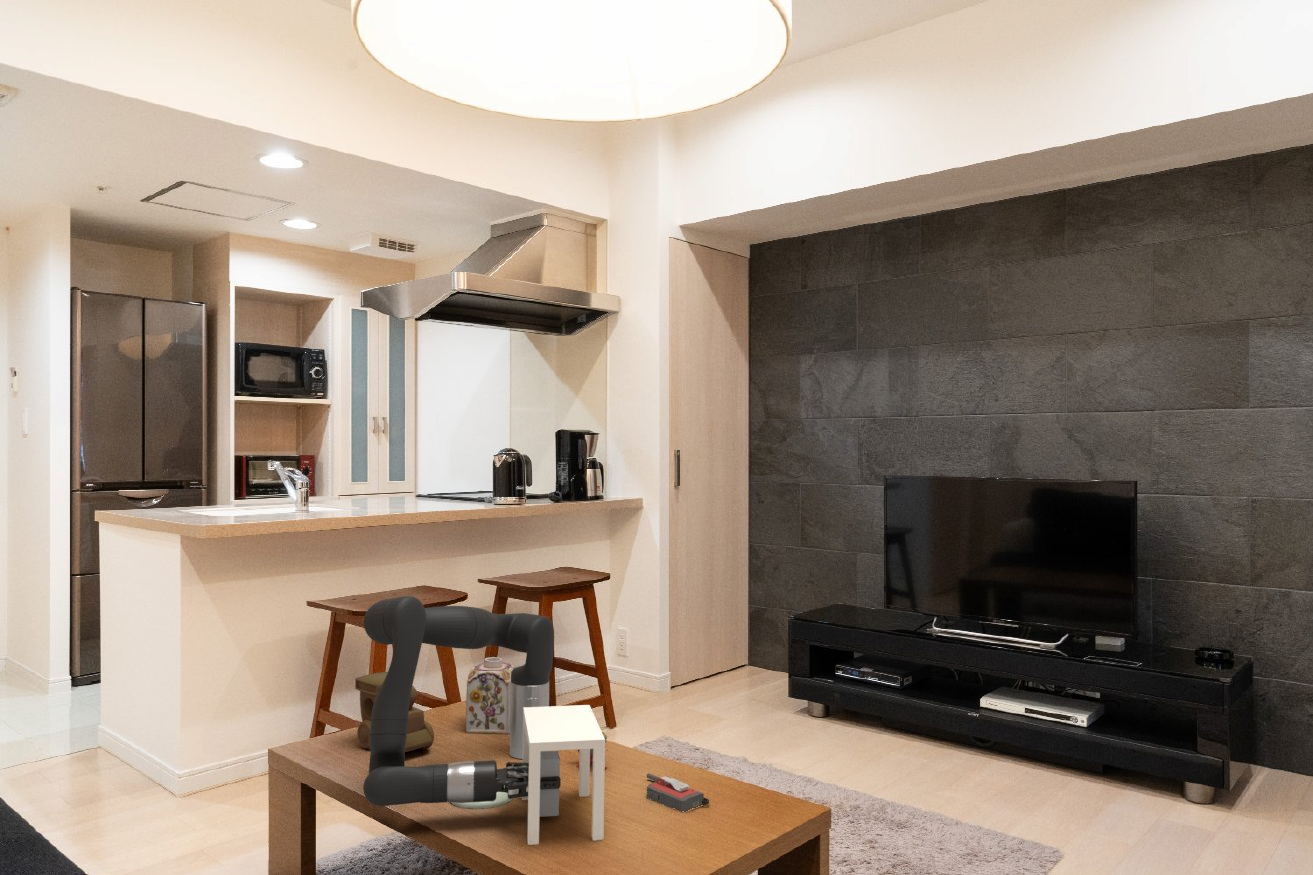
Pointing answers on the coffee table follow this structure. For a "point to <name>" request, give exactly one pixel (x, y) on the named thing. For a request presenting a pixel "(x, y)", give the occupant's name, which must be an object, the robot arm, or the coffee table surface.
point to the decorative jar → (489, 697)
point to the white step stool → (564, 733)
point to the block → (549, 796)
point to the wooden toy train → (417, 727)
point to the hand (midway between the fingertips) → (558, 777)
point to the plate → (500, 800)
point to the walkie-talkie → (674, 793)
